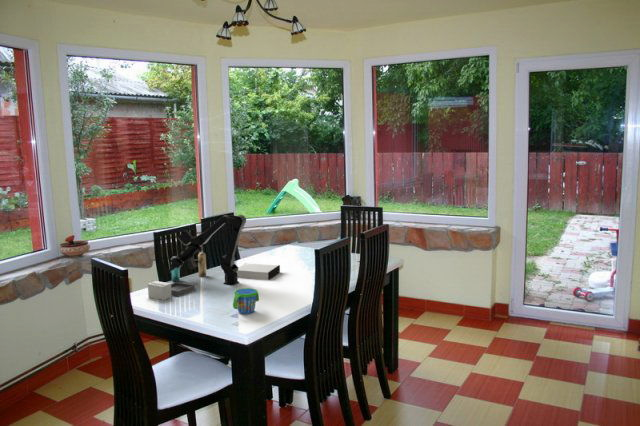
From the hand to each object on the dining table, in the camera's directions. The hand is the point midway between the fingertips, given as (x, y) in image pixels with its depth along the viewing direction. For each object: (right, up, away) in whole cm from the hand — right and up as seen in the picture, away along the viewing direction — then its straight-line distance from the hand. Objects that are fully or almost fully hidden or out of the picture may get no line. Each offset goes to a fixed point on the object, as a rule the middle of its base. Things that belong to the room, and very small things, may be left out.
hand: (173, 269), depth 294 cm
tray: (+8, -10, -21) cm, 24 cm away
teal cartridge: (+1, -7, +1) cm, 7 cm away
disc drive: (+47, -6, +14) cm, 49 cm away
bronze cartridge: (+14, -5, +11) cm, 19 cm away
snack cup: (+50, -15, -53) cm, 74 cm away
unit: (+2, -11, -30) cm, 32 cm away
